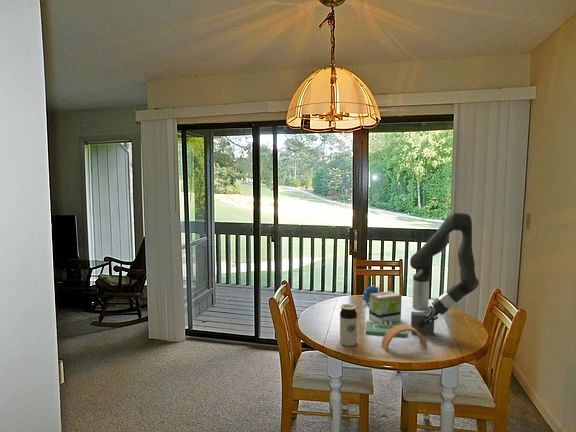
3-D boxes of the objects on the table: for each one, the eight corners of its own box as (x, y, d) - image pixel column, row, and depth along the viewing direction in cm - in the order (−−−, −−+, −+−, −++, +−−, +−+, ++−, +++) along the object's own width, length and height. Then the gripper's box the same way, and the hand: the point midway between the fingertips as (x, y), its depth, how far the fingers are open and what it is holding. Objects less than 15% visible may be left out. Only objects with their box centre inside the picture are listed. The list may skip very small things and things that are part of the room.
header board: (366, 324, 207) (366, 316, 207) (404, 326, 203) (404, 318, 202) (365, 333, 193) (365, 325, 193) (406, 337, 189) (407, 328, 189)
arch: (381, 346, 179) (381, 325, 178) (421, 343, 181) (421, 323, 181) (385, 351, 173) (386, 330, 172) (427, 348, 176) (427, 327, 175)
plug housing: (410, 330, 198) (411, 311, 197) (432, 331, 195) (432, 312, 194) (411, 334, 193) (412, 314, 192) (433, 335, 190) (434, 316, 190)
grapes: (376, 300, 248) (376, 282, 247) (381, 304, 242) (381, 285, 241) (359, 302, 245) (360, 284, 244) (364, 305, 239) (364, 286, 238)
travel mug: (339, 339, 187) (339, 303, 185) (355, 339, 186) (355, 303, 185) (340, 346, 179) (341, 308, 177) (357, 346, 178) (358, 309, 177)
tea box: (379, 324, 206) (379, 298, 205) (368, 319, 215) (368, 293, 214) (401, 320, 212) (401, 294, 211) (389, 315, 221) (390, 290, 220)
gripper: (436, 293, 198) (412, 314, 201) (441, 302, 184) (415, 323, 187) (446, 304, 197) (422, 324, 201) (452, 313, 183) (426, 335, 187)
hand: (419, 324), depth 194 cm, fingers open, 6 cm apart
